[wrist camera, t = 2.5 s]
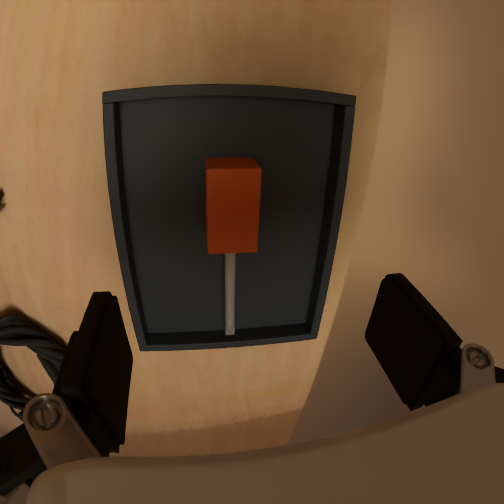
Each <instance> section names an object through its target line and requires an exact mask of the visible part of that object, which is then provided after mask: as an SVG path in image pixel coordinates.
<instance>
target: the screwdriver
mask: <svg viewBox="0 0 504 504" xmlns="http://www.w3.org/2000/svg"><path fill="white" fill-rule="evenodd" d="M261 175H262V169H261V167H260V166H259V165H258V164H257V162H256V161H255V160H254V159H253V158H252V157H225V158H205V205H206V238H207V250H208V254H225V334H226V335H234V334H235V256H236V253H248V252H257V248H258V230H259V212H260V193H261Z"/></svg>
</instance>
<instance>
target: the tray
mask: <svg viewBox="0 0 504 504" xmlns="http://www.w3.org/2000/svg"><path fill="white" fill-rule="evenodd" d="M102 103H103V127H104V144H105V158H106V169H107V179H108V189H109V197H110V205H111V213H112V220H113V227H114V233H115V239H116V245H117V251H118V257H119V262H120V268H121V273H122V278H123V283H124V287H125V292H126V297H127V301H128V305H129V310H130V314H131V318H132V322H133V326H134V330H135V334H136V338H137V342H138V345H139V349H140V351H172V350H197V349H215V348H230V347H243V346H255V345H266V344H276V343H285V342H294V341H302V340H310V339H316V338H317V335H318V331H319V326H320V322H321V318H322V313H323V309H324V304H325V299H326V295H327V290H328V285H329V280H330V275H331V270H332V265H333V260H334V254H335V249H336V244H337V238H338V232H339V226H340V220H341V214H342V208H343V201H344V195H345V188H346V181H347V174H348V166H349V158H350V150H351V141H352V132H353V123H354V113H355V107H354V106H355V103H356V96H353V95H347V94H341V93H334V92H327V91H319V90H310V89H301V88H290V87H278V86H262V85H237V84H195V85H170V86H155V87H142V88H132V89H123V90H115V91H107V92H102ZM225 157H252V158H253V159H254V160H255V161H256V162H257V164H258V165H259V166H260V167H261V169H262V175H261V193H260V212H259V230H258V248H257V252H248V253H236V256H235V334H234V335H226V334H225V254H208V250H207V238H206V205H205V158H225Z"/></svg>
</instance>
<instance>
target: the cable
mask: <svg viewBox="0 0 504 504" xmlns="http://www.w3.org/2000/svg"><path fill="white" fill-rule="evenodd" d="M0 344H3V345H11V346H27V347H28V348H30V349H31V350H32V351H34V352H35V353H37V357H38V358H39V360H40V362H41V363H42V365H43V367H44V369H45V370H46V372H47V373H48V375H49V377H50V378H51V380H52V381H53V383H54V384H55V382H56V379H57V376H58V372H59V369H60V366H61V363H62V360H63V357H64V354H65V351H66V349H65V348H64V347H62V346H61V345H59V344H57V343H55V341H54V340H53V339H52V338H50V337H49V336H48V335H46V334H45V333H43V332H41V331H40V330H39V329H37V328H36V327H35V326H33V325H31V324H29V322H28V321H27V320H26V319H24V318H23V317H21V316H17V315H9V316H6V317H4V318H1V319H0ZM0 400H1V401H2V402H4V403H5V404H7V405H9V407H10V409H11V411H12V412H13V414H14V415H15V416H17V417H19V419H20V420H22V422H24V421H23V411H24V408H25V406H26V404H27V403H28V402H29V401H30V400H31V399H28V398H25V397H24V394H23V393H22V392H21V389H20V387H19V386H18V384H17V383H16V381H15V380H14V378H13V377H12V375H11V374H10V372H9V371H8V370H4V369H3V368H2V366H1V364H0ZM13 408H16V409H19V410H22V411H21V412H19V413H18V414H17V413H16V412H15V411H14V409H13Z"/></svg>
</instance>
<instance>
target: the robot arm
mask: <svg viewBox="0 0 504 504" xmlns="http://www.w3.org/2000/svg"><path fill="white" fill-rule="evenodd" d="M365 339H366V341H367V343H368V345H369V346H370V348H371V350H372V351H373V353H374V354H375V356H376V358H377V359H378V361H379V363H380V365H381V366H382V368H383V370H384V371H385V373H386V374H387V376H388V378H389V380H390V381H391V383H392V385H393V386H394V388H395V390H396V392H397V393H398V395H399V397H400V398H401V400H402V402H403V403H404V404H406V405H407V406H408V407H409V409H410V411H412V410H415V409H418V408H420V407H422V406H423V404H424V405H425V407H424V408H421V409H419V410H416V411H413V412H410V413H408V414H405V415H402V416H399V417H396V418H393V419H390V420H387V421H384V422H380V423H377V424H374V425H370V426H367V427H364V428H360V429H357V430H352V431H349V432H345V433H341V434H337V435H333V436H328V437H324V438H320V439H315V440H311V441H305V442H301V443H295V444H289V445H283V446H277V447H271V448H264V449H257V450H250V451H241V452H232V453H221V454H207V455H190V456H159V457H144V456H139V457H109V452H114V453H119V444H124V442H125V430H126V419H127V408H128V398H129V389H130V381H131V373H132V365H133V356H132V351H131V348H130V344H129V341H128V337H127V334H126V330H125V327H124V323H123V319H122V315H121V311H120V307H119V303H118V299H117V297H116V296H112V294H111V292H93V294H92V296H91V299H90V301H89V304H88V307H87V309H86V312H85V314H84V317H83V320H82V323H81V325H80V328H79V331H74V332H73V333H72V335H71V337H70V340H69V343H68V346H67V348H66V351H65V354H64V357H63V360H62V363H61V366H60V369H59V372H58V376H57V379H56V382H55V385H54V389H53V392H52V394H50V393H44V394H40V395H37V396H35V397H34V398H32V399H31V400H30V401H29V402H28V403H27V404H26V406H25V408H24V411H23V421H24V423H23V424H22V425H20V426H19V427H17V428H15V429H14V430H12V431H11V432H9V433H8V434H6V435H5V436H3V437H1V438H0V504H504V369H501V368H498V367H495V366H494V360H493V357H492V356H491V354H490V353H489V351H487V349H485V348H484V347H482V346H480V345H478V344H467V345H465V346H464V347H463V349H461V348H460V347H459V346H460V345H461V343H462V340H461V338H460V337H459V336H458V335H457V334H456V332H455V331H454V330H453V329H452V328H451V327H450V326H449V324H448V323H447V322H446V321H445V320H444V319H443V317H442V316H441V315H440V314H439V313H438V312H437V311H436V310H435V309H434V307H433V306H432V305H431V304H430V303H429V302H428V301H427V300H426V299H425V297H424V296H423V295H422V294H421V293H420V292H419V291H418V290H417V289H416V288H415V287H414V286H413V285H412V284H411V283H410V282H409V281H408V279H407V278H406V277H405V276H404V275H403V274H401V273H397V274H388V275H386V276H385V278H384V279H383V280H382V281H381V284H380V287H379V291H378V294H377V298H376V301H375V304H374V308H373V311H372V314H371V317H370V320H369V323H368V326H367V329H366V332H365Z"/></svg>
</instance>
